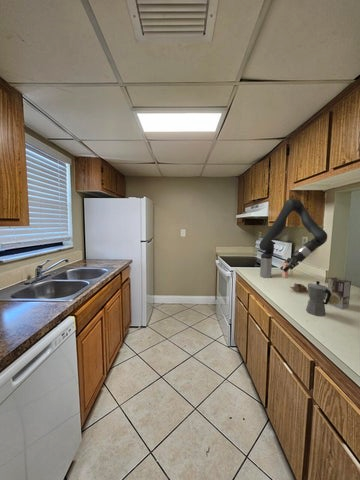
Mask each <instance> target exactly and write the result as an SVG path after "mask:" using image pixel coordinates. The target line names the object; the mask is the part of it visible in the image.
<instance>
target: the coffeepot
mask: <svg viewBox="0 0 360 480" xmlns="http://www.w3.org/2000/svg"><path fill="white" fill-rule="evenodd" d="M315 282H316V283H307V290H308V293H307V294H308V297H309V298H308V301H307V305H306V308H305V311H306V312H307V313H308V314H309V315H313V316H316V317H325V316H326V315H327V314H326V307H325V306H327V305H329V304H328V301H329V299H330V297H331V292H330V290H328V286H326V285H322V284H320V281H318V280H316V281H315Z"/></svg>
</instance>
